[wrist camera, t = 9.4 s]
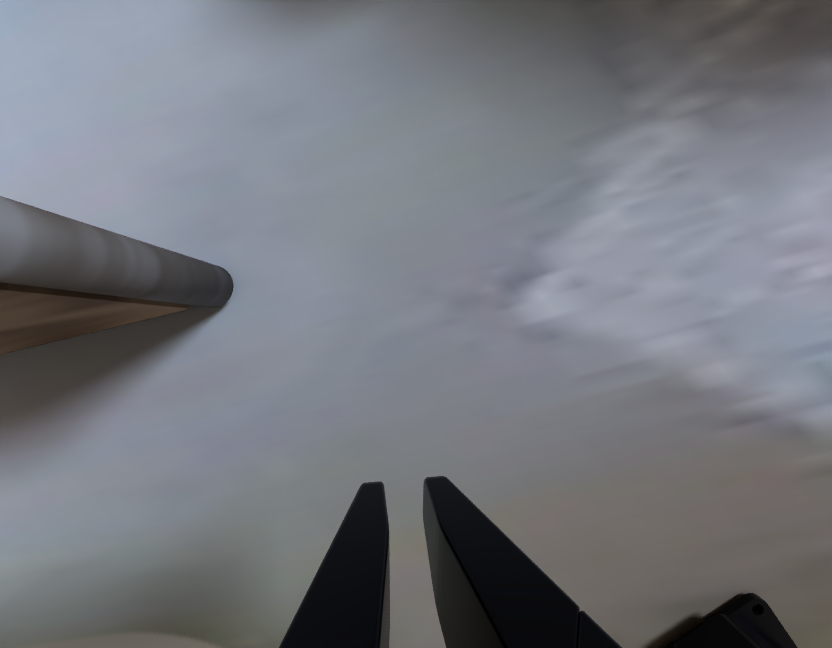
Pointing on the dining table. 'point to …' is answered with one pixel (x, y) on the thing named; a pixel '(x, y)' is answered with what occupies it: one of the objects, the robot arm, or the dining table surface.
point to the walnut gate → (89, 278)
